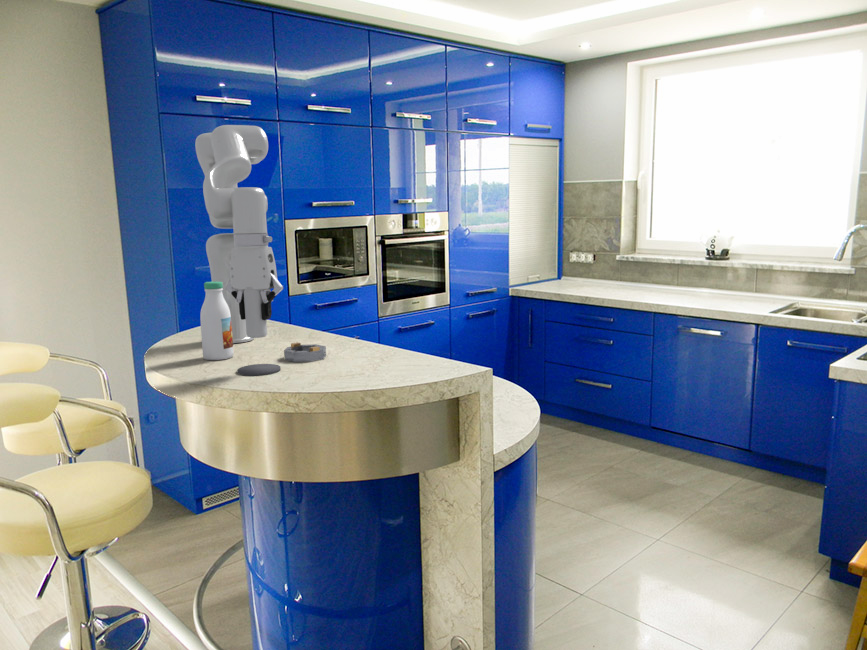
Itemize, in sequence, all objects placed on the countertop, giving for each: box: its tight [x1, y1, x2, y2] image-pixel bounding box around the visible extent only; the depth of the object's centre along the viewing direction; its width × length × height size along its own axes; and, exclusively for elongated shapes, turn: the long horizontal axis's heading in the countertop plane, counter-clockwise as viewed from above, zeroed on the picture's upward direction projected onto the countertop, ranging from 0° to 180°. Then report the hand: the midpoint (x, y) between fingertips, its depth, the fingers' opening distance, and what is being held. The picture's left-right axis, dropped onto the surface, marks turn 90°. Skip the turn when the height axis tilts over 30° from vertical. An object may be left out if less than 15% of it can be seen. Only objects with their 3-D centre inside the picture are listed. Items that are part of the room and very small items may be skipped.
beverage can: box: [244, 287, 268, 339], centre depth 161 cm, size 5×5×12 cm
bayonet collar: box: [283, 342, 327, 363], centre depth 178 cm, size 10×10×3 cm
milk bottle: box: [199, 281, 235, 361], centre depth 178 cm, size 8×8×20 cm
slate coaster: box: [236, 363, 281, 377], centre depth 164 cm, size 10×10×1 cm
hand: (255, 318), depth 162 cm, fingers closed on beverage can, 4 cm apart
